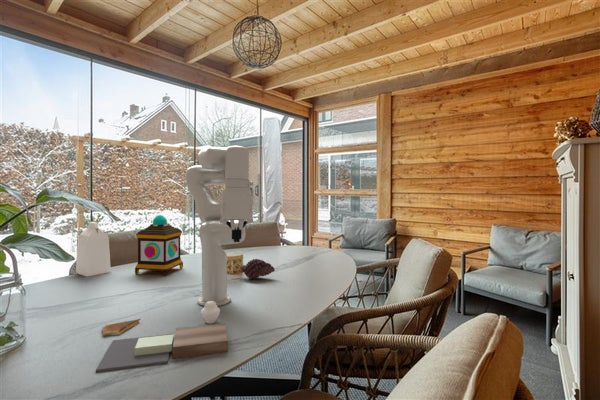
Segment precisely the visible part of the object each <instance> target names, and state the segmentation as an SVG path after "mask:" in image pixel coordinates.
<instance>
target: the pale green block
mask: <svg viewBox="0 0 600 400" xmlns="http://www.w3.org/2000/svg"><path fill="white" fill-rule="evenodd" d="M172 334H173V335H167V334H162V335H163V336H157V335H153V336H154V337H148V336H143V337H144V338H139V339H138V342H137V344H136V346H135V356H137V355H145V354H154V353H162V352H170V353H171V352H173V343H174V337H175V333H172Z"/></svg>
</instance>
